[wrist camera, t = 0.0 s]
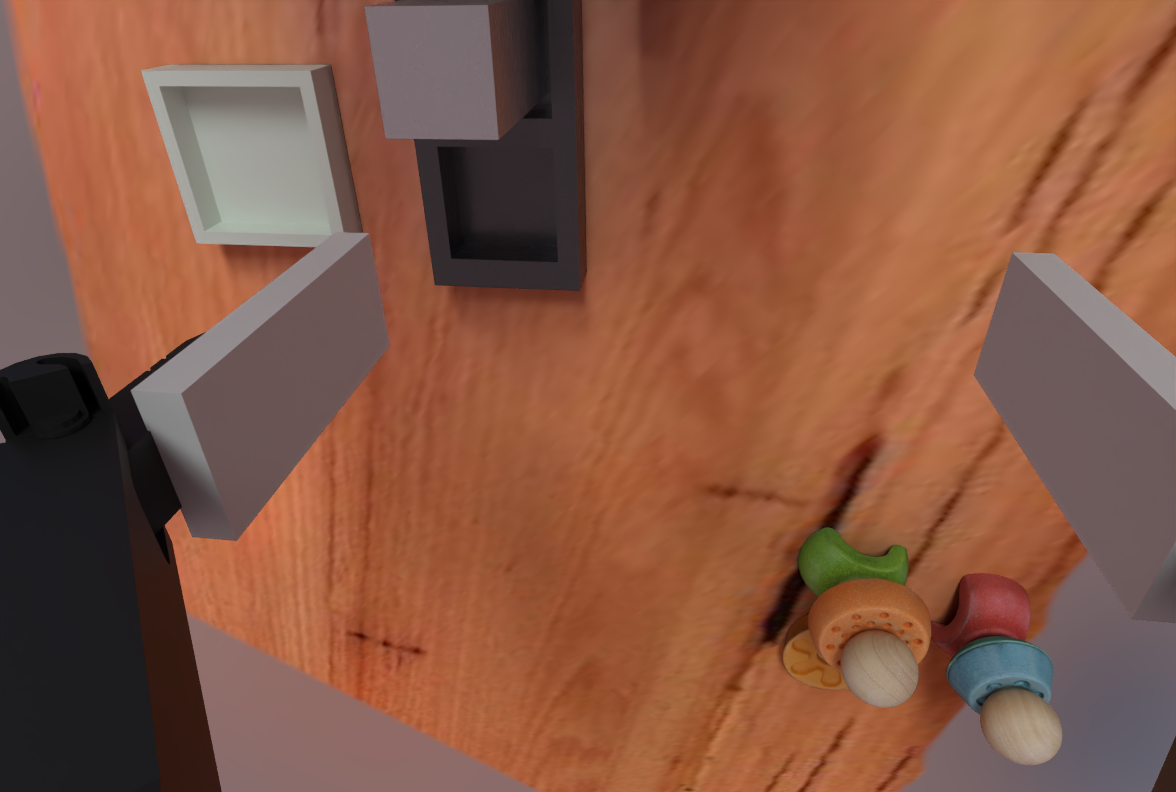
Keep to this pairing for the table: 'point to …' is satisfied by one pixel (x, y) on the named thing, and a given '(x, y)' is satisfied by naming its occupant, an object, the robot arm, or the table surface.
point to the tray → (256, 152)
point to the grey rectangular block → (456, 66)
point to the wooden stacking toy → (923, 643)
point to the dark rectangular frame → (516, 183)
